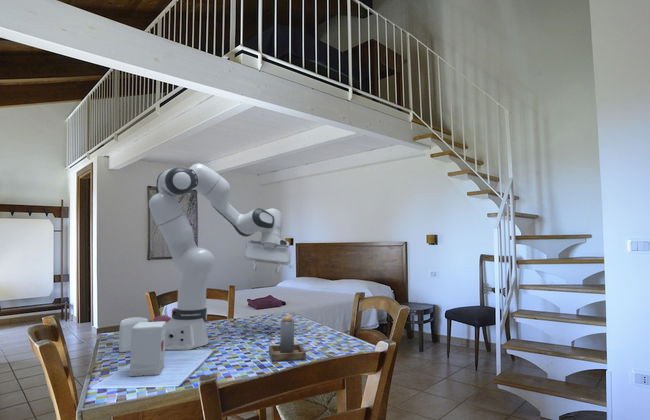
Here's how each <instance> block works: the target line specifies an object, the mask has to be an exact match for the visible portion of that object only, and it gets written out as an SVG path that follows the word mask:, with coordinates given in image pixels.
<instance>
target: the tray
mask: <svg viewBox="0 0 650 420" xmlns="http://www.w3.org/2000/svg"><path fill="white" fill-rule="evenodd" d="M268 353H269V358H270V359H271V360H270V361H271V362H272V363H274V362H275V363H276V362H279V363H280V362H295V361H306V360H307V352H306V351H305V348H303V346H302V345H301V343H296V344H295V343H294V353H280V344H274V345H270V344H269V345H268Z"/></svg>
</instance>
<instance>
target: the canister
mask: <svg viewBox="0 0 650 420" xmlns="http://www.w3.org/2000/svg"><path fill="white" fill-rule="evenodd" d="M279 335H280V337H279V338H280V342H279V345H280V353H294V344H295V319H294V320H293V316H292V315H283V316H282V320H280V334H279Z"/></svg>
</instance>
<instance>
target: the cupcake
mask: <svg viewBox="0 0 650 420" xmlns="http://www.w3.org/2000/svg"><path fill="white" fill-rule="evenodd" d="M159 307H160V308H159V309H160V310H159V312H160V313H159V314H160V315H156V317H154V318H153V319H152V320H151V322H160V321H166V323H167V322H168V321H169V320H171V319H172V316H169V315H166V314H165V315H164V314H163V308H162V306H159Z"/></svg>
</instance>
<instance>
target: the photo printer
mask: <svg viewBox="0 0 650 420" xmlns="http://www.w3.org/2000/svg"><path fill="white" fill-rule="evenodd" d="M139 322H149V319H148V318H146V317H139V316H138V317H137V316H136V317H135V316H134V317H127V318H125V319H123V320H120V324H119V329H118V330H119V331H118V333H119V334H118V352H119V353H128V352H130V353H131V337H132V328H133V327H134V326H135V325H136V324H138V323H139Z"/></svg>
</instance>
